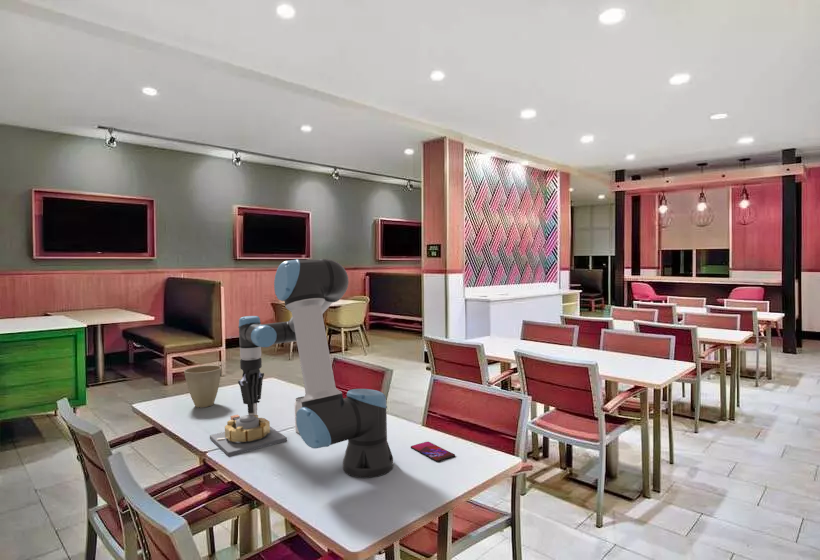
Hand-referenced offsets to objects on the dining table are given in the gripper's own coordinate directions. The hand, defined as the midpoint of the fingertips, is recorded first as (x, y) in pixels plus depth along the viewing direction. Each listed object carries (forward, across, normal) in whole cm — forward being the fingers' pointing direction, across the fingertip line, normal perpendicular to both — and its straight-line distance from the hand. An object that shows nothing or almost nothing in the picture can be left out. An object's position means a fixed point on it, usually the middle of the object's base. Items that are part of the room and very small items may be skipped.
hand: (252, 420), depth 183 cm
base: (+3, +10, +5) cm, 12 cm away
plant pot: (+3, -20, -38) cm, 43 cm away
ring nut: (+1, +8, +2) cm, 9 cm away
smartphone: (+4, +4, +70) cm, 70 cm away
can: (+3, -2, +20) cm, 20 cm away
